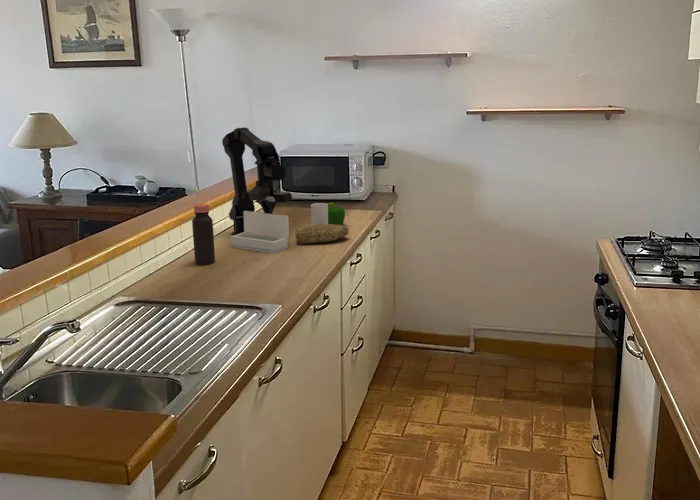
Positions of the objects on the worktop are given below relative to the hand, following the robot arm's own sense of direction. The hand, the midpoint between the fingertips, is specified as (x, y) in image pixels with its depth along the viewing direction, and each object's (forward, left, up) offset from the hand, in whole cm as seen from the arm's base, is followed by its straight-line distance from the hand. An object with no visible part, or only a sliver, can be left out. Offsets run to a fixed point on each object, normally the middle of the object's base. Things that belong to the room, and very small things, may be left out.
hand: (268, 218), depth 261 cm
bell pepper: (+6, +37, -10) cm, 39 cm away
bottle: (-4, -32, -10) cm, 33 cm away
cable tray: (0, -7, -10) cm, 12 cm away
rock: (+15, +13, -10) cm, 22 cm away
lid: (0, -2, -2) cm, 3 cm away
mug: (+8, +23, -10) cm, 27 cm away
